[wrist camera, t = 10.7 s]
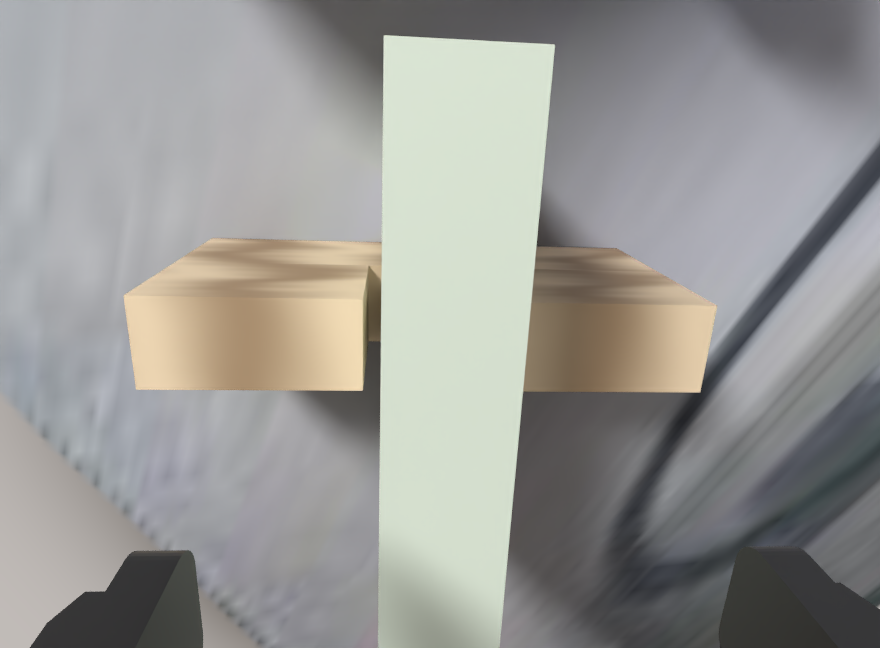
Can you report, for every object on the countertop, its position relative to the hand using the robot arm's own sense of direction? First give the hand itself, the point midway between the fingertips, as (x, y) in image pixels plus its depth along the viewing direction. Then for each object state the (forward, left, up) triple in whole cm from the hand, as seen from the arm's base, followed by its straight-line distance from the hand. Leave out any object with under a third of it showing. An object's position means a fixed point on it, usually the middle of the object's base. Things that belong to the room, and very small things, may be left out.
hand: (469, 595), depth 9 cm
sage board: (0, 0, -19) cm, 19 cm away
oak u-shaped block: (0, 0, -19) cm, 19 cm away
